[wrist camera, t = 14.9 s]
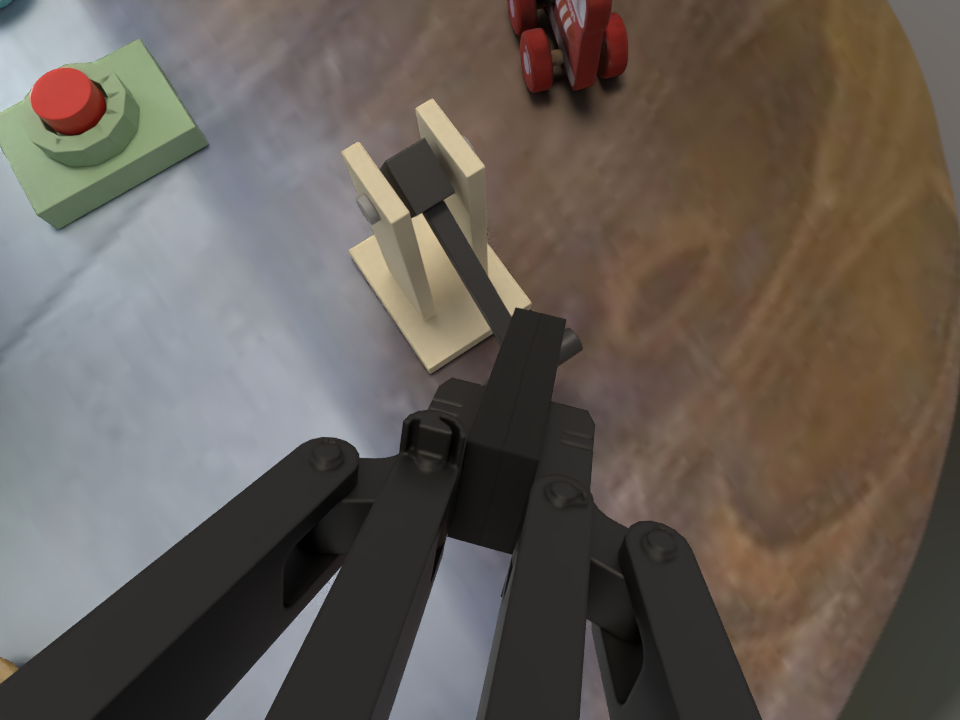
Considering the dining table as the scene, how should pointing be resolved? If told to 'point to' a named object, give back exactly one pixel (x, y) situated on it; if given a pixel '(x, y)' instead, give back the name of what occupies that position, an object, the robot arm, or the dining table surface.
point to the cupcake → (4, 3)
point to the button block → (101, 139)
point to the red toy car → (570, 41)
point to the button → (68, 101)
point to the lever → (453, 234)
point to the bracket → (429, 248)
